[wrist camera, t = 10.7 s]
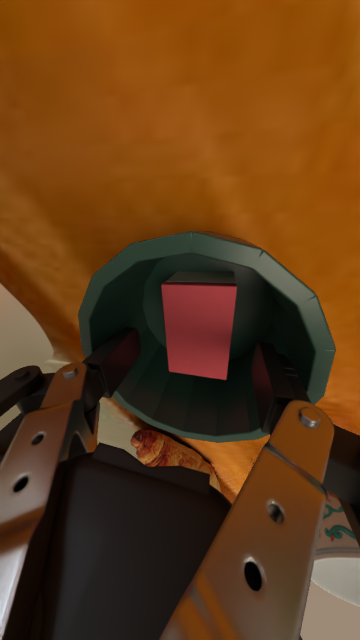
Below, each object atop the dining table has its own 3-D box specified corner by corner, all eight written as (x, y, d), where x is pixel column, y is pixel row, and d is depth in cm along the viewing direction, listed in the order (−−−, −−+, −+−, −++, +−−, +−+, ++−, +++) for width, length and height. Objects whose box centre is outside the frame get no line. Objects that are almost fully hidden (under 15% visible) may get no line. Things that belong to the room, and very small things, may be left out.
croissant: (231, 468, 32) (257, 526, 24) (190, 502, 32) (202, 571, 24) (159, 396, 27) (163, 441, 19) (109, 436, 27) (92, 498, 19)
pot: (188, 193, 12) (140, 144, 5) (319, 303, 13) (414, 377, 6) (119, 316, 18) (58, 364, 11) (211, 382, 19) (204, 461, 12)
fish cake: (177, 271, 14) (160, 284, 10) (234, 271, 13) (237, 286, 9) (180, 343, 17) (168, 371, 13) (226, 348, 16) (226, 380, 12)
